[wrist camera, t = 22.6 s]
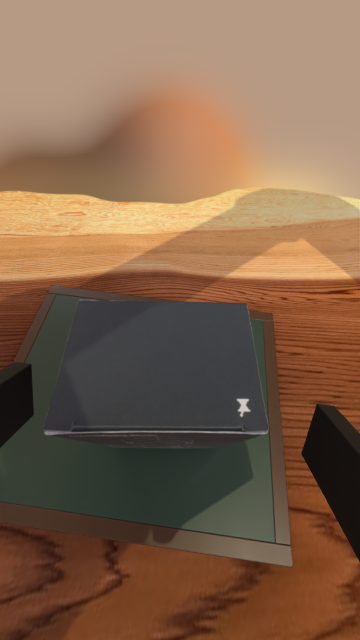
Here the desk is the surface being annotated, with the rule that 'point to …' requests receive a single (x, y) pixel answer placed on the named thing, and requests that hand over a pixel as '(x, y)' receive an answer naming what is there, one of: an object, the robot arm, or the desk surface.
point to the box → (158, 376)
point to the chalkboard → (146, 466)
